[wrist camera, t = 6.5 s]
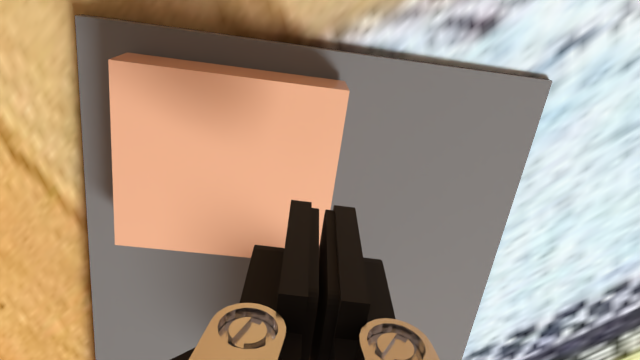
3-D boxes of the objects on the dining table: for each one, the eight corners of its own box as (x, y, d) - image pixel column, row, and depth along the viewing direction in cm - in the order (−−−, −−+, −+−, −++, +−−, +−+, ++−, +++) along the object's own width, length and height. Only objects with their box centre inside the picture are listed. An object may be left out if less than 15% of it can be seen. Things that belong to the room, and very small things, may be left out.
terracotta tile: (349, 90, 16) (108, 59, 15) (321, 264, 18) (114, 244, 18) (344, 79, 18) (130, 51, 17) (319, 238, 20) (133, 219, 20)
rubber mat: (544, 78, 19) (552, 80, 18) (440, 405, 25) (443, 414, 25) (82, 14, 17) (75, 15, 16) (102, 382, 24) (97, 391, 23)
